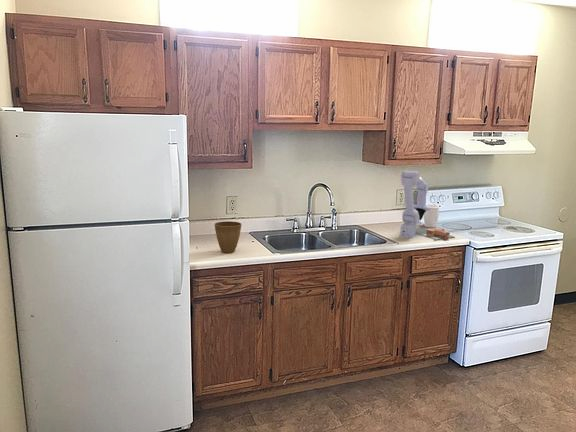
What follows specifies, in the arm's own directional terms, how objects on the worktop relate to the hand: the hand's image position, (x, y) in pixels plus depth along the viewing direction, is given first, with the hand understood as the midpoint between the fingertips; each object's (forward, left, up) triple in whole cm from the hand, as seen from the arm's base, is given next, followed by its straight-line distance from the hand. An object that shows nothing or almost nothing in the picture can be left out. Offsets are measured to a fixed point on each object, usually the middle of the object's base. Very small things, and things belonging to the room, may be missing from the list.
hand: (420, 219), depth 327 cm
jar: (+20, +9, -9) cm, 24 cm away
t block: (0, -18, -8) cm, 19 cm away
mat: (0, -8, -9) cm, 11 cm away
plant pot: (-136, +12, -9) cm, 137 cm away
